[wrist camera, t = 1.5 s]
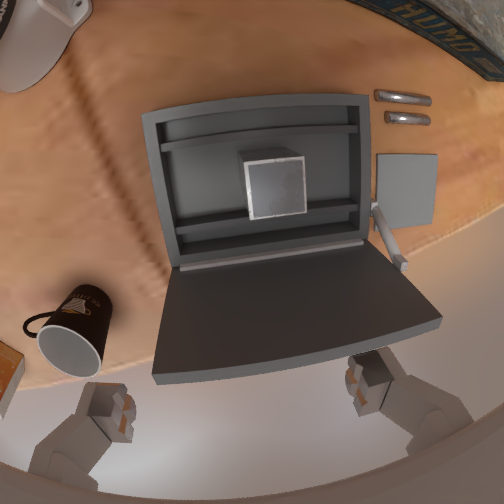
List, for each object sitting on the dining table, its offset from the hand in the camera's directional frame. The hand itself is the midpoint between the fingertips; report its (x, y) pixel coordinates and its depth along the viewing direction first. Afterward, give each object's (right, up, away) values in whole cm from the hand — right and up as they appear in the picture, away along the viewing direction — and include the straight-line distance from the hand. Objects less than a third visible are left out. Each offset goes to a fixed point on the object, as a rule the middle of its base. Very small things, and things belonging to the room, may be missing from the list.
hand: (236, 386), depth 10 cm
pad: (+21, +13, +25) cm, 35 cm away
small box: (-46, -15, +30) cm, 57 cm away
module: (+2, +13, +21) cm, 25 cm away
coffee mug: (-23, -2, +26) cm, 35 cm away
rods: (+19, +22, +20) cm, 35 cm away
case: (+2, +13, +22) cm, 26 cm away
